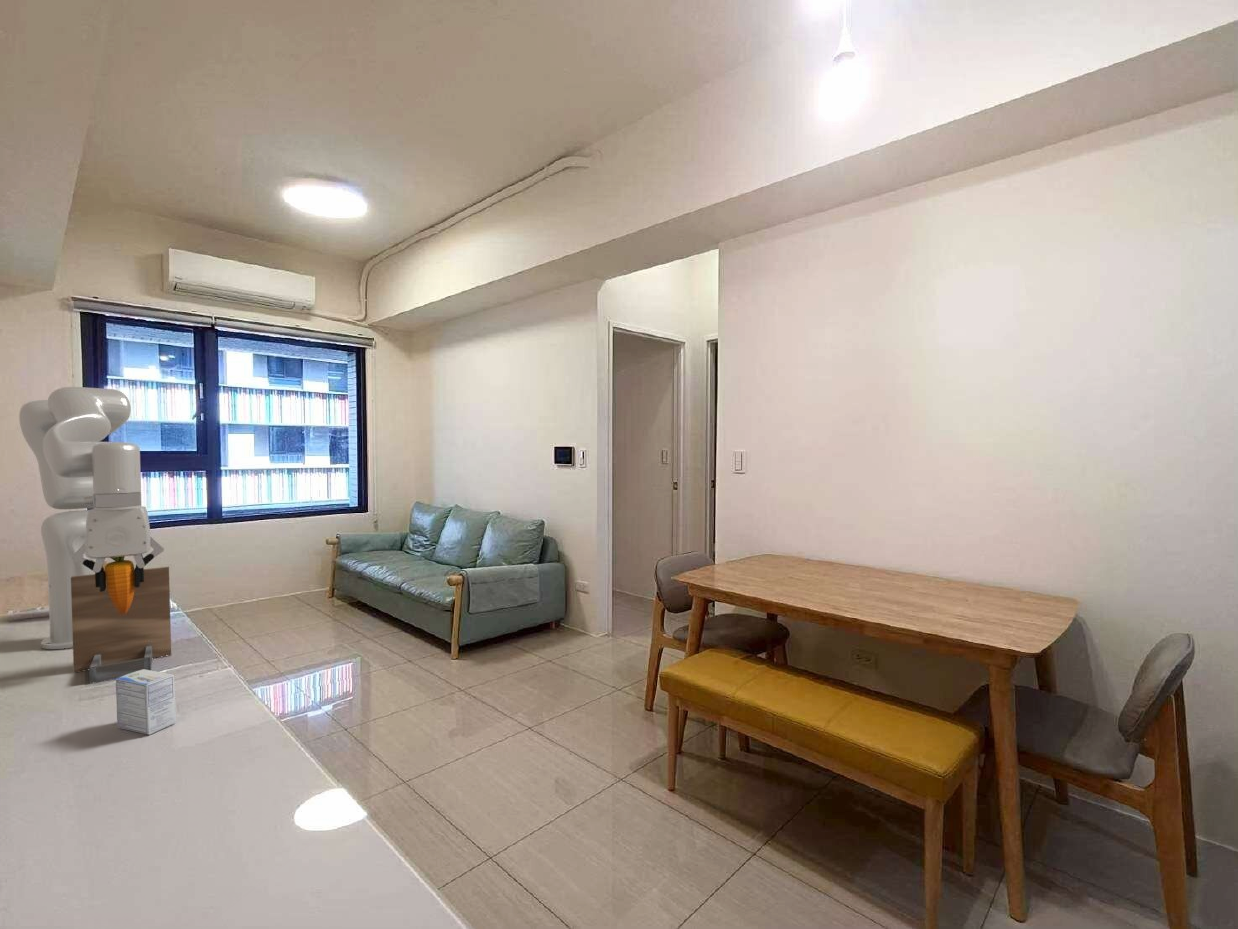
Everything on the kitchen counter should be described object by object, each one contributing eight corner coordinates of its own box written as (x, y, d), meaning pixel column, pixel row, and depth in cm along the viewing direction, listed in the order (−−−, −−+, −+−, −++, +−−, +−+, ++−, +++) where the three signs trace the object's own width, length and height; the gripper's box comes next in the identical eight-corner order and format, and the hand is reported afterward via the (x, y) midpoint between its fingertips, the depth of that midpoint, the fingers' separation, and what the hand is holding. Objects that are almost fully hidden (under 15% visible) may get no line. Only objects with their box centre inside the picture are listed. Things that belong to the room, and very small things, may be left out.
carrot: (144, 612, 122) (137, 542, 121) (116, 619, 117) (108, 547, 116) (131, 609, 124) (125, 541, 123) (103, 616, 119) (96, 546, 118)
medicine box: (176, 724, 97) (175, 673, 97) (147, 736, 93) (146, 684, 93) (145, 716, 100) (144, 668, 100) (116, 728, 96) (114, 677, 95)
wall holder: (74, 670, 120) (71, 576, 120) (171, 653, 130) (168, 566, 129) (66, 688, 112) (63, 586, 111) (170, 668, 121) (168, 575, 121)
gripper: (58, 505, 111) (61, 598, 111) (169, 500, 121) (171, 585, 122) (64, 502, 117) (67, 591, 117) (169, 498, 127) (172, 579, 128)
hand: (120, 587), depth 120 cm, fingers closed on carrot, 4 cm apart
